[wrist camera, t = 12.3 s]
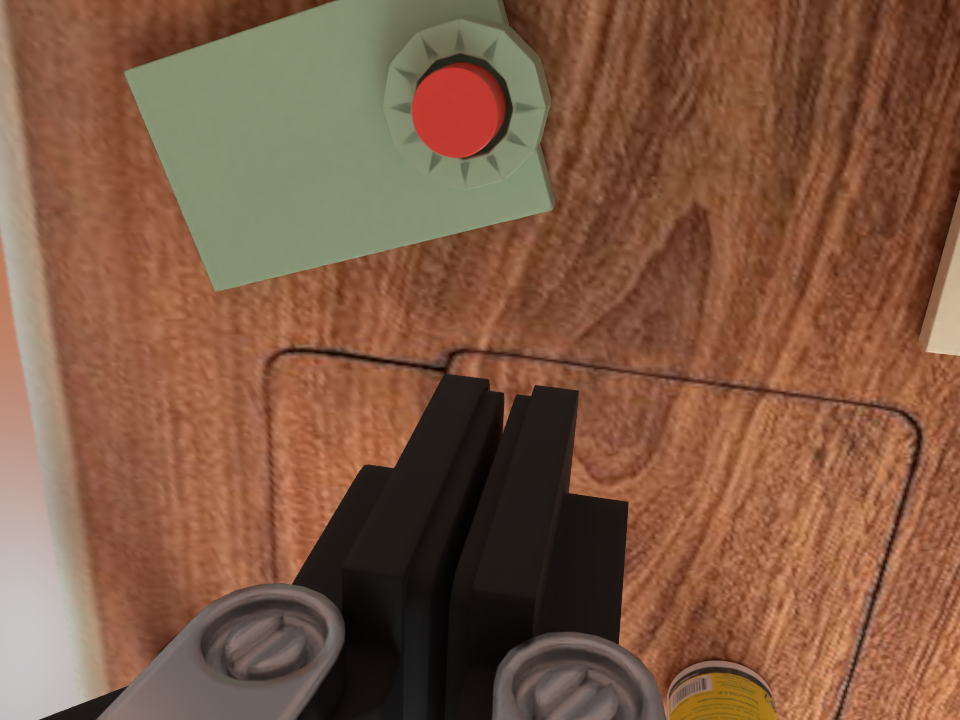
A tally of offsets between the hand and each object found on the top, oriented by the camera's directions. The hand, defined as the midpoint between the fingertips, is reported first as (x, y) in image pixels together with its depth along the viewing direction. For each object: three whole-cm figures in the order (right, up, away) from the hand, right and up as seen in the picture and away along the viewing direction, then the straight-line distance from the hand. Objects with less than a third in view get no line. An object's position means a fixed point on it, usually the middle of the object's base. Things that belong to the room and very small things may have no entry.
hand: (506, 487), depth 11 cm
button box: (-6, +11, +27) cm, 29 cm away
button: (-1, +11, +22) cm, 25 cm away
